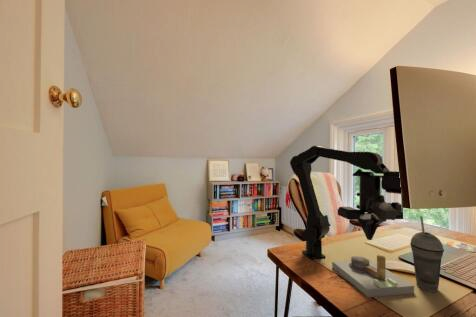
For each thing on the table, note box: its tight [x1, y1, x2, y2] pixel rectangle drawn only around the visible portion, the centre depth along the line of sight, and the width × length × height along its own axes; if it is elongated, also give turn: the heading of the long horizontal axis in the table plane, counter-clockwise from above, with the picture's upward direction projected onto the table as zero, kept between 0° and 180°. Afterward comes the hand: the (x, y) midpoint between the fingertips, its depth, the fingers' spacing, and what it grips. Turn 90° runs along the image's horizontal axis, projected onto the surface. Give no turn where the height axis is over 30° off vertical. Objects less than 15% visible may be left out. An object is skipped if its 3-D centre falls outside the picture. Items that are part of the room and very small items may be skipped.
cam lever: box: [350, 254, 386, 280], centre depth 64 cm, size 10×5×6 cm, turn 18°
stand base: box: [331, 258, 415, 298], centre depth 64 cm, size 16×14×3 cm
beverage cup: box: [409, 216, 445, 293], centre depth 60 cm, size 7×7×20 cm
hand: (369, 239), depth 66 cm, fingers closed
